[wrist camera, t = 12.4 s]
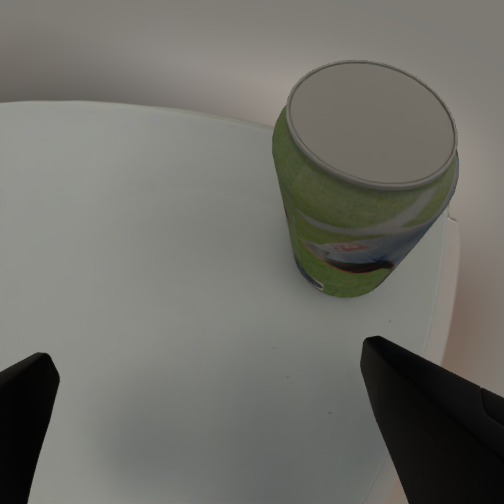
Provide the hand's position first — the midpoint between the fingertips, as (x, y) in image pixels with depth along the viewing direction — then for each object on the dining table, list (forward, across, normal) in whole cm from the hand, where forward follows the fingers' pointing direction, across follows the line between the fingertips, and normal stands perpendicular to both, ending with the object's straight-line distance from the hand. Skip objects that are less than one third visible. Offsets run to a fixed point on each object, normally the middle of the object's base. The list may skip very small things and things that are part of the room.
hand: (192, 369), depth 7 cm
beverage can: (+11, -6, +1) cm, 13 cm away
